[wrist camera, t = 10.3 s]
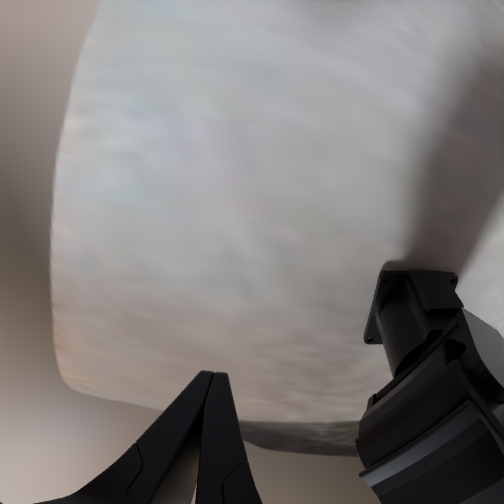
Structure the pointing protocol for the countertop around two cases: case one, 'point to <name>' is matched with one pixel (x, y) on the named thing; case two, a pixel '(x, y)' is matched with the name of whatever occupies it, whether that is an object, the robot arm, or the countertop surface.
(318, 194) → the countertop surface
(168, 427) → the robot arm
